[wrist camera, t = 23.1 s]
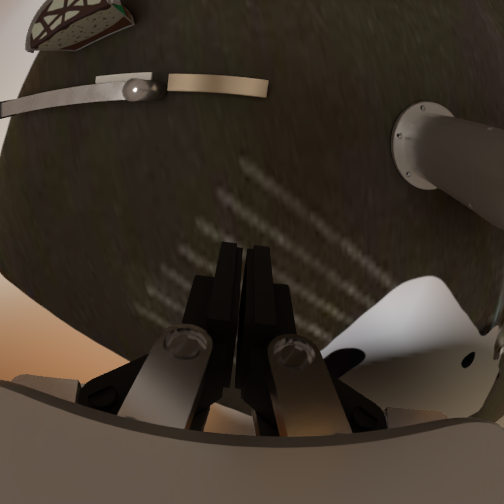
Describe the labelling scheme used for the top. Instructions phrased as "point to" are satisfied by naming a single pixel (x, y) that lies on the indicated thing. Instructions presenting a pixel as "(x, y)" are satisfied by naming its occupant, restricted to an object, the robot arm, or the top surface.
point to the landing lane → (123, 77)
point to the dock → (218, 84)
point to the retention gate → (87, 95)
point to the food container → (75, 24)
